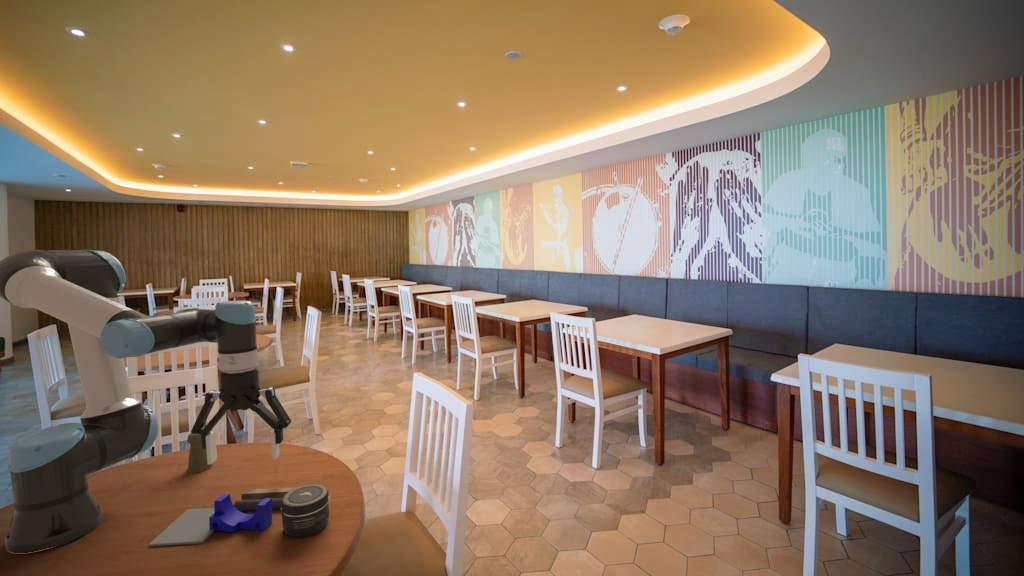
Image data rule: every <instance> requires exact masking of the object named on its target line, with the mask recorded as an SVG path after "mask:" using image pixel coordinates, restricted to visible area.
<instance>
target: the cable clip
mask: <svg viewBox="0 0 1024 576" xmlns="http://www.w3.org/2000/svg"><path fill="white" fill-rule="evenodd" d="M213 504H214V505H213V506H214V507H213V508H214V514H213V515H211V516H210V517H209V525H210V530H215V531H217V532H218V531H219V532H228V533H235V532H236V531H238V530H239V529H243V530H252V531H255V530H256V531H262V532H263V531H264V532H265V530H266V529H267V528H268V527H270V526H271V525H272V524H273V509H272V498H265V499H264V500H263V501H261V502H260V503H259V504H258V505H257V510H255V513H244V512H243V511H239V510H237V509H236V508H235V507H234V504H233V501H232V499H231V494H230V493H223V494H222V495H219V497H218V498H216V499H215V500H213Z"/></svg>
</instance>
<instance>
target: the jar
mask: <svg viewBox="0 0 1024 576" xmlns="http://www.w3.org/2000/svg"><path fill="white" fill-rule="evenodd" d="M296 487H297V488H295V489H293V490H291V491H289V492H288V493H287V494H285V495H284V497H283V498H282V501H281V509H280V511H281V522H282V523H281V524H282V528H283V530H284V531H283V532H285V534H286V535H287V536H289V537H291V538H294V539H295V538H296V539H298V538H300V539H301V538H306V537H311V536H314V535H315V534H317V533H319V532H320V531H321V530H322V531H323V529H324V528H325V527H326V525H327V523H328V521H329V517H330V495H329V489H328V488H327V487H326V486H324V484H320V483H319V484H317V483H312V484H310V483H309V484H304V485H301V486H296Z"/></svg>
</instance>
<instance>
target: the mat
mask: <svg viewBox="0 0 1024 576" xmlns="http://www.w3.org/2000/svg"><path fill="white" fill-rule="evenodd" d="M213 514H214V507H208V508H207V507H205V508H204V507H203V508H189V509H188V508H187V509H186V510H185V511H184V512H183V513H182V514H181V515H180V516H179V517H177V518H176V519H175V520H174V521H172V523H171V524H169V525H168V527H167V528H165V529H164V530H163V531H162V532H161V533H159V535H157V536H156V537H155V538H154V539H153V540H152V541H151V542H150V543H149V544H148V546H149V547H161V546H162V547H163V546H174V545H175V546H179V545H195V544H204V543H205V542H206V540H208V539H209V537H211V536H212V534H213V533H214V532H215V531H216V530H210V525H209V517H210V516H211V515H213Z"/></svg>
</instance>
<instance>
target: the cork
mask: <svg viewBox="0 0 1024 576" xmlns="http://www.w3.org/2000/svg"><path fill="white" fill-rule="evenodd" d="M187 443H188V444H189V452H188V453H189V455H188V464H187V472H188V473H190V474H191V473H192V474H196V473H200V472H204V471H208V470H209V469H211V468H213V463H214V462H213V463H212V464H207V450H206V449H203V448H202V437H201V435H200V434H192V433H191V432H190V433H189V434H188V435H187Z"/></svg>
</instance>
